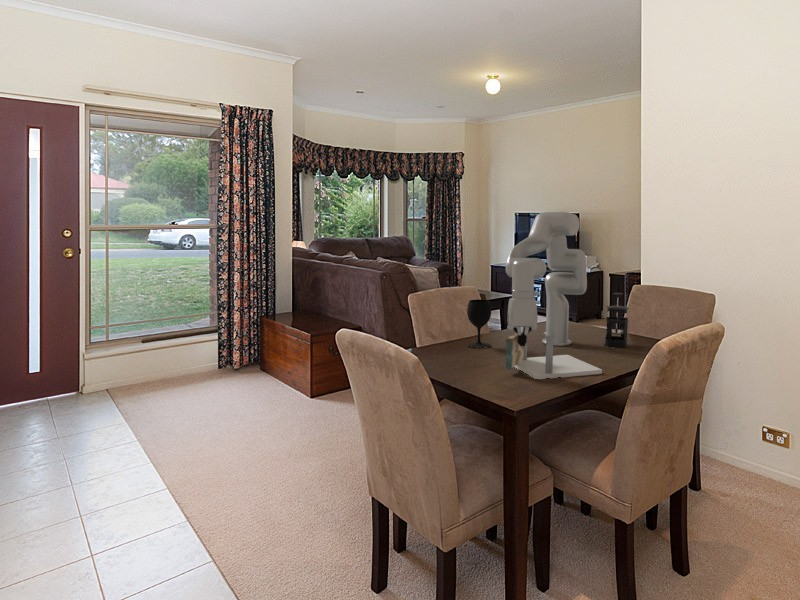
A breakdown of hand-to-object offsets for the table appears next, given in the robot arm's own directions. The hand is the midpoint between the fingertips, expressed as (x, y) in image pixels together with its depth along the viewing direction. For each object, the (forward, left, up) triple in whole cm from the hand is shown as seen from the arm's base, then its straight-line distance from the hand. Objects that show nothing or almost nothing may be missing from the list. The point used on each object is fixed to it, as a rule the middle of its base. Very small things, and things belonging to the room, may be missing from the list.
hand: (521, 345), depth 198 cm
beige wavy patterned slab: (-4, 0, -8) cm, 9 cm away
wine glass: (-43, +1, -10) cm, 45 cm away
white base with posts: (-1, +13, -10) cm, 17 cm away
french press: (-26, +58, -10) cm, 65 cm away
